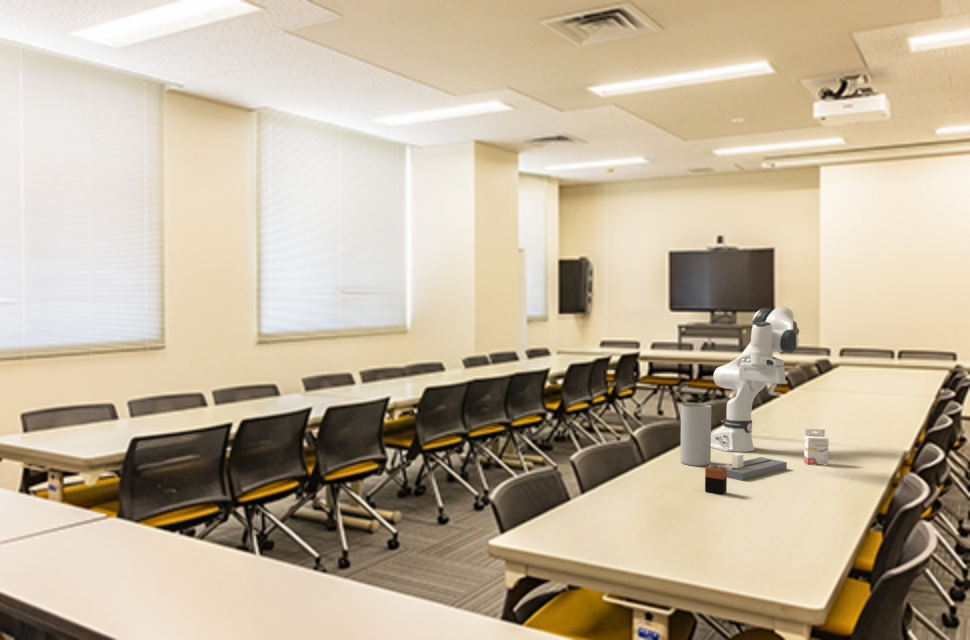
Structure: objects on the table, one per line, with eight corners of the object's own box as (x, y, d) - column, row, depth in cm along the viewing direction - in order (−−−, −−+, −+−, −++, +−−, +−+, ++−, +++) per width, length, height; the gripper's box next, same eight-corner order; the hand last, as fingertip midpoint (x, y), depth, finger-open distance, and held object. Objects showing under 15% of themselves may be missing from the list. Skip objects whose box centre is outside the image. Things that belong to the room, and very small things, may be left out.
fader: (732, 471, 297) (732, 454, 297) (737, 470, 299) (738, 453, 299) (737, 473, 295) (737, 455, 295) (743, 471, 297) (743, 454, 297)
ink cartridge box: (807, 464, 317) (808, 430, 316) (803, 462, 322) (804, 428, 321) (828, 465, 316) (829, 431, 316) (824, 462, 321) (824, 429, 321)
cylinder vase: (714, 466, 313) (715, 407, 312) (684, 466, 313) (685, 407, 312) (705, 460, 326) (706, 403, 325) (677, 459, 325) (677, 403, 325)
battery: (723, 495, 268) (723, 467, 268) (704, 492, 272) (704, 465, 271) (726, 492, 271) (727, 465, 271) (708, 489, 275) (708, 462, 275)
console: (715, 474, 298) (715, 467, 298) (760, 464, 318) (760, 457, 318) (742, 480, 289) (742, 472, 289) (786, 469, 308) (786, 462, 308)
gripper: (735, 358, 321) (735, 390, 321) (779, 362, 305) (778, 395, 305) (744, 358, 325) (743, 389, 325) (787, 361, 308) (787, 394, 309)
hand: (761, 392), depth 315 cm, fingers open, 8 cm apart
